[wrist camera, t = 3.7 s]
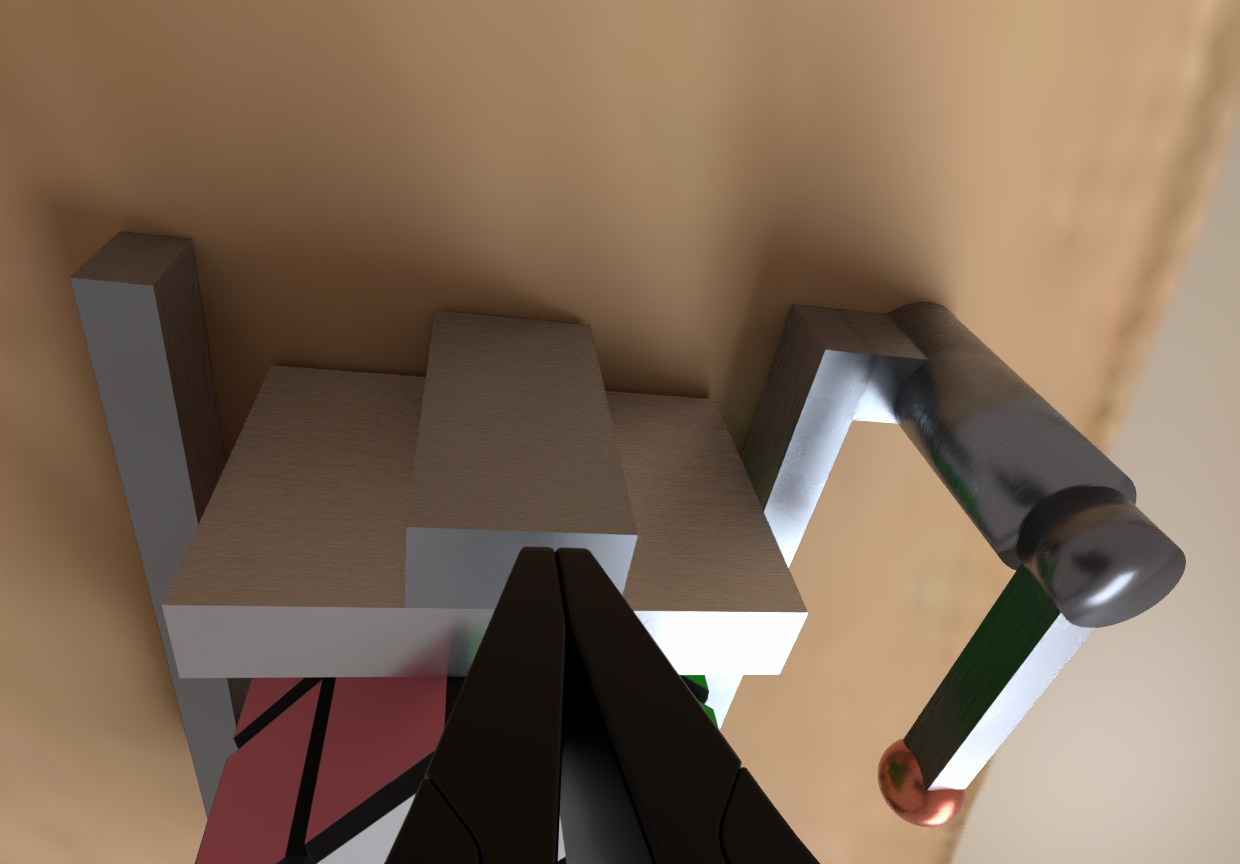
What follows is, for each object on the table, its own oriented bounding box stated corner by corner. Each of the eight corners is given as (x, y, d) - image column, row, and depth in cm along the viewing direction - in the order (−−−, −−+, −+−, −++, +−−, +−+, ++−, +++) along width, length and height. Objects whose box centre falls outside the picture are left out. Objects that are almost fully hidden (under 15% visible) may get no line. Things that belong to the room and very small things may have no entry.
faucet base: (762, 741, 33) (827, 944, 27) (227, 756, 29) (152, 1006, 22) (975, 307, 21) (1183, 487, 15) (114, 209, 17) (-120, 411, 10)
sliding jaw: (698, 453, 23) (779, 674, 16) (277, 428, 20) (179, 678, 14) (732, 338, 21) (841, 542, 14) (264, 294, 18) (140, 517, 12)
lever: (1037, 467, 15) (1108, 543, 13) (1134, 473, 16) (1215, 547, 14) (850, 766, 21) (882, 845, 20) (924, 764, 22) (962, 840, 20)
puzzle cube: (265, 614, 25) (158, 962, 17) (466, 429, 22) (452, 749, 14) (494, 718, 30) (497, 1022, 22) (684, 581, 27) (767, 878, 19)
